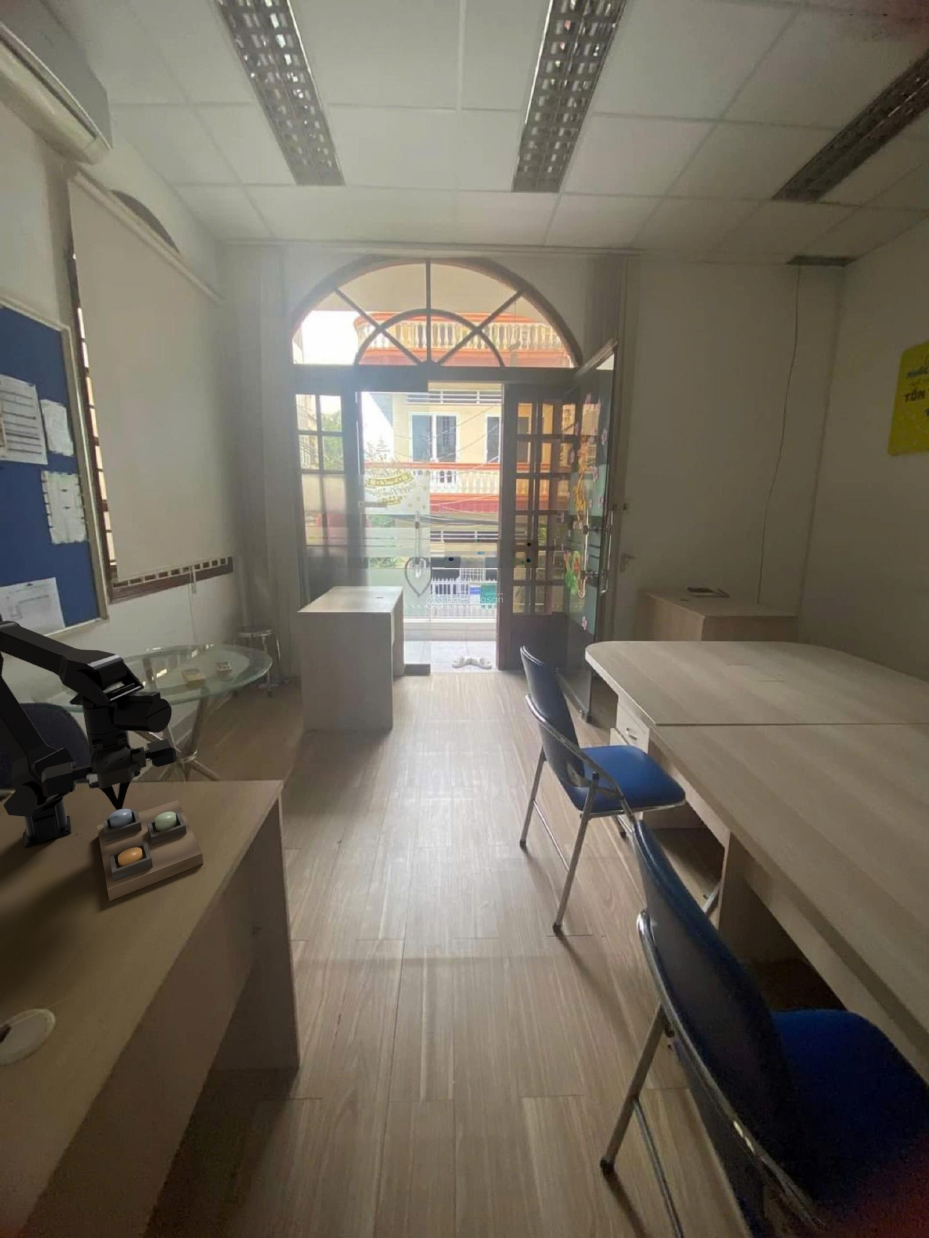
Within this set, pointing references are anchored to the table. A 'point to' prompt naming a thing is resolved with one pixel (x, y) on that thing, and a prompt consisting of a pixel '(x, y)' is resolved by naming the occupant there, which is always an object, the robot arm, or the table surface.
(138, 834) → the console
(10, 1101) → the table surface
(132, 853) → the orange button
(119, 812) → the slate blue button
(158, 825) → the sage button
